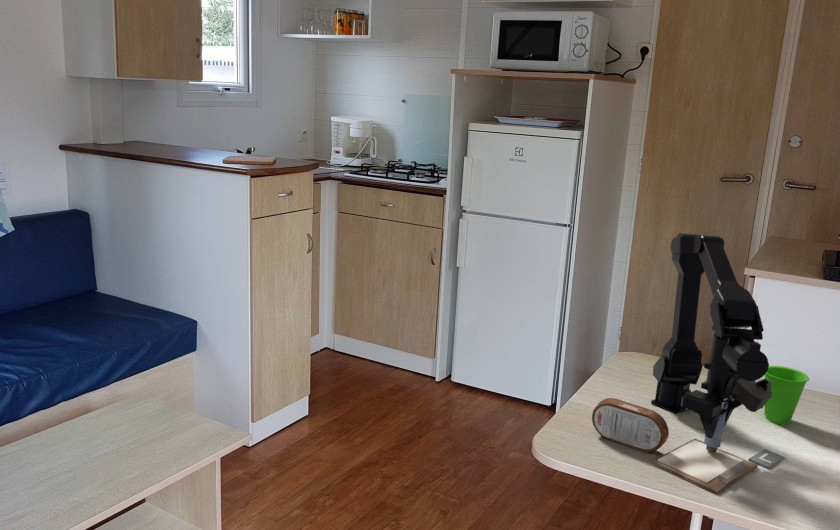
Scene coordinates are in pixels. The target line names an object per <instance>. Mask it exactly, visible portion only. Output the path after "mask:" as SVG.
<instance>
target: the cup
mask: <svg viewBox="0 0 840 530" xmlns="http://www.w3.org/2000/svg"><path fill="white" fill-rule="evenodd" d="M764 379H767V380H768V381H770V382H771V383H772V384H771V392H772V394H771V396H772V398H771V399H769V400H768V401H767V402H766V404H765V405H764V417H765V419H766V420H767V421H769V422H771V423H773V424H777V425H783V424H785V425H789V424H790V423H791V421H792V419H793V417H794V414H795V412H796V408H797V406H798V404H799V401H800V398H801V395H802V394H803V391H804V388H805V386H806V384H807V382H809V380H810V378H809V375H807V374H806V373H805V372H803V371H800V370H799V369H798V370H797V369H795V368H792V367H788V366H787V367H786V366H781V365H769V368H768V371H767V372H766V374H765V375H764Z"/></svg>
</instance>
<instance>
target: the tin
mask: <svg viewBox="0 0 840 530" xmlns="http://www.w3.org/2000/svg"><path fill="white" fill-rule="evenodd" d="M591 421H592V424H593V427H594V430H595V431H596V432H597V433H598V435H600V436H601V437H603V438H604V439H606V440H609V441H612V442H613V443H614V442H615V443H617V444H620V445H623V446H626V447H629V448H632V449H634V450H638V451H640V452H646V453H652V452H655V451H657V450H659V449H660V448H661V447H662V446H663V445H664V444H666V442H667V441H668V439H669V435H670V434H669V426H668V424H667V421H666V420H665V419H664V418H663V416H662V415H661V414H660V413H659V412H657V411H655V410H654V409H650V408H648V407H647V408H646V407H644V406H641V405H638V404H634V403H631V402H629V401H628V402H627V401H625V400H622V399H619V398H615V397H607V398H604V399H602V400H600V401H599V402H598V403H597V405H596V406H595V407H594V409H593V411H592V414H591Z"/></svg>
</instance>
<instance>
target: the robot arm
mask: <svg viewBox="0 0 840 530" xmlns="http://www.w3.org/2000/svg"><path fill="white" fill-rule="evenodd" d="M670 252H671V260H672V263H673V265H674V267H675V269H676V271H677V281H676V292H675V303H674V310H673V311H674V312H673V313H674V314H673V321H672V331H671V337H670V338H669V339H668V341H667V342H666V343H665V344H664V346H662V350H661V351H662V352H661V356H659V358H658V359H657V360H656V362H655V363H654V364H653V366H652V376H653V377H654V378H655V379H656V381H657V384H656V391H655V398H654V399H652V400H651V401H650V403H651V404H652V405H655V406H657V407H660V408H663V409H664V410H668V411H670V412H672V413H674V414H677V413H680V412H681V411H683V410H688V411H691V412H693V413H695V414H698V417H699V421H700V423H701V424H702V425H701V426H702V428H703V431H704V434H706V437H708V438H710V439H711V438H713V435H714V433H715V430H716V426H717V423H718V420H719V417H720V416H721V415H723V414H725V413H726V417H725V423H724V428H725V426H726V425H727V423H728V421H729V420H730V417H731V415H732V413H733V411H734V410H735V409H736V408H739V407H741V406H742V405H743V406H744V407H745V408H746V410H748V411H750V413H751V412H752V413H756V412H757V411H758V410H762V409H764V408H765V404H766V402H767V401H768V400H769V399H771V398H772V396H771V394H772V392H771V384H772V383H771V382H770V381H768V380H767V379H765V378H763V377H765V374H766V372H767V371H768V368H769V366H770V363H769V359H768V357H767V355H766V354H765V353H764V352H762V350H761V347H762V345H761V343H759V342H758V341H759V340H763V338H764V337H763V332H764V331H765V329H764V326H763V322H762V317H761V314H760V311H759V306H758V304H757V303H756V301H755V298H754V297H753V295H752V294H751V292H750V291H749V290H748V289H746V288H744V287H743V286H741V285H740V284H739V282H738V279H737V276H736V275H735V272H734V269H733V267H732V265H731V262H730V259H729V258H728V255H727V252H726V250H725V240H724V238H723V237H721V236H719V235H709V234H705V233H704V234H703V233H701V234H700V233H690V232H689V233H686V232H685V233H684V232H679V233H678V234H677V235H676V237H673V238H672V239H671V242H670ZM704 273H705V275H706V279H707V281H708V284H709V287H710V290H711V292H712V300H711V301H710V304H709V308H710V309H709V310H710V312H709V313H710V317H711V320H712V324H713V325H712V326H711V330H712V331H713V332H714V333H713V338H712V345H711V351H710V357H709V361H707V362H704V369H705V370H707V374H706V380H705V381H704V382H701V385H700V388H701V389H703V390H705V391H706V392H704V391H700V390H698V389H695V390H691V389H690V387H691V385H695V386H697V384H698V381H699V379H700V376H701V373H702V371H703V364H702V362H703V361H702V358H703V353H702V351H701V350H700V349H699V348H698V346H697V344H696V343H697V342H696V341H695V338H696V329H697V320H698V310H699V300H700V292H701V291H700V290H701V284H702V282H701V281H702V275H704ZM755 340H756V341H755ZM757 340H758V341H757ZM761 378H763V379H761ZM760 379H761V380H760ZM758 380H759V381H758ZM724 400H726V401H727V402H728V408H727V410H725V409H723V404H724V403H725V401H724Z"/></svg>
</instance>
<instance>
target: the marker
mask: <svg viewBox="0 0 840 530" xmlns="http://www.w3.org/2000/svg"><path fill="white" fill-rule="evenodd" d="M724 401H725V403H724V404H723V409H725V410H727V408H728V402H727V401H726V400H724ZM725 417H726V413H725V414H723V415H721V416H720V417H719V420H718V423H717V426H716V430H715V433H714V435H713V438H711V439H710V438H708V437H706V434H705V433H704V434H705V436H704V441H703V442H704V443H705V444H706V450H708V451H710V452H717V448H719V449H720V448H721V446H722V438H723V433H724V428H725V427H724V423H725Z"/></svg>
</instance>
